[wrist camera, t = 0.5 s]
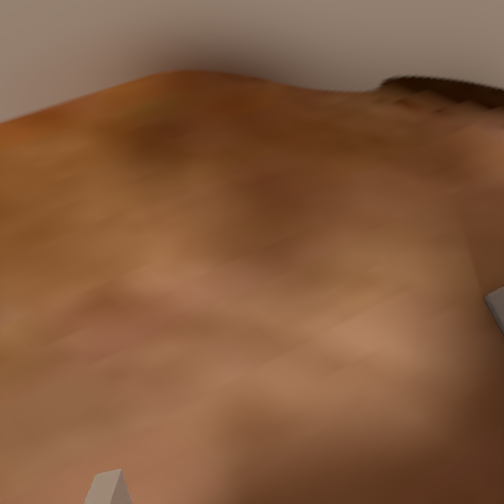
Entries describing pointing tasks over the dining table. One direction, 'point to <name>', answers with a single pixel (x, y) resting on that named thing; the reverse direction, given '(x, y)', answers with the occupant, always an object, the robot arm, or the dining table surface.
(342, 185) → the dining table surface
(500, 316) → the bin
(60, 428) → the dining table surface
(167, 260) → the dining table surface
